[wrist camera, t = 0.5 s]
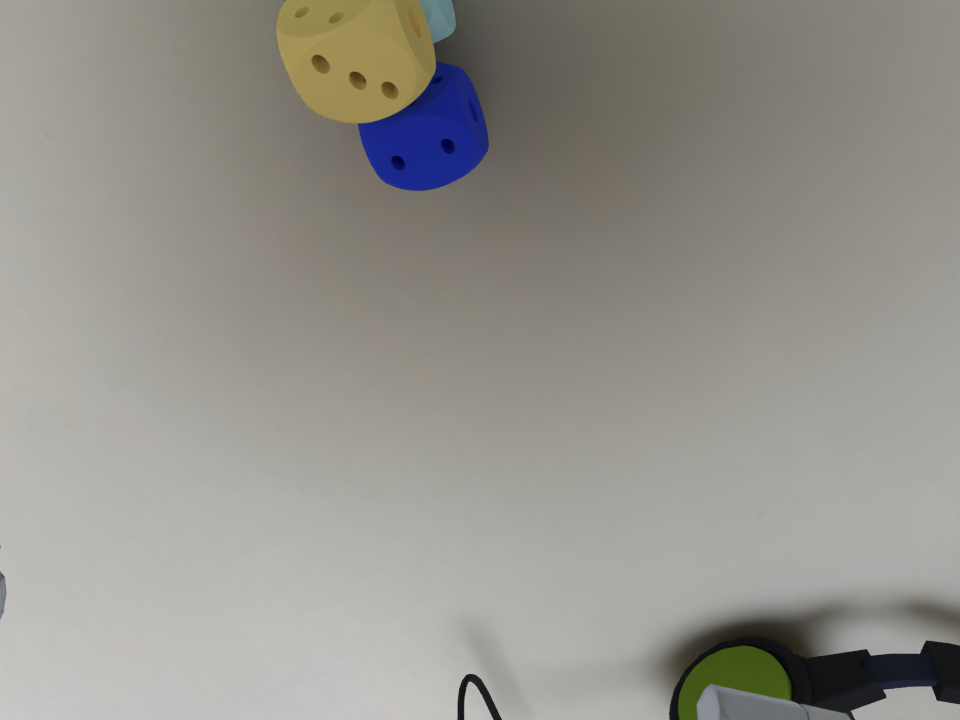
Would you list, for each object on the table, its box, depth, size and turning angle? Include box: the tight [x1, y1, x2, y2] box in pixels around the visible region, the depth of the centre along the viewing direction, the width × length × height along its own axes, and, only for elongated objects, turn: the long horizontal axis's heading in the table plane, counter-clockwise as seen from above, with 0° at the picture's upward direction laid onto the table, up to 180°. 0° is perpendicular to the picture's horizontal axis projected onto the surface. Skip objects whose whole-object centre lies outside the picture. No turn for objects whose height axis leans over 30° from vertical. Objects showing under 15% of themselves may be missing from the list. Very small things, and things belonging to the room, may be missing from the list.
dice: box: [276, 0, 489, 191], centre depth 21 cm, size 8×3×6 cm, turn 20°
